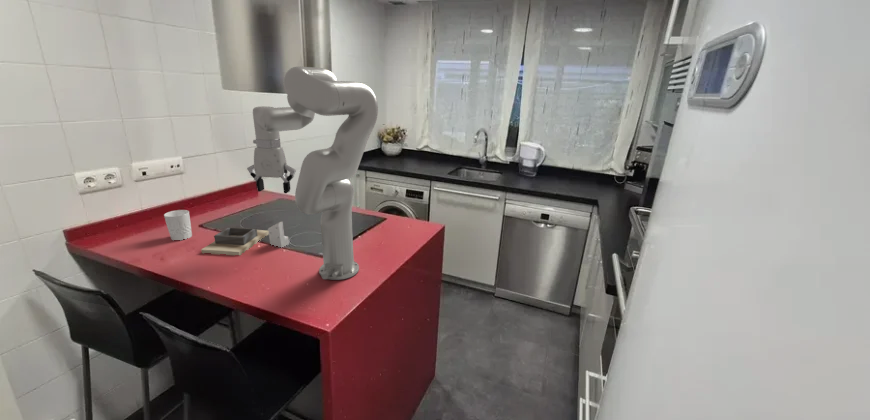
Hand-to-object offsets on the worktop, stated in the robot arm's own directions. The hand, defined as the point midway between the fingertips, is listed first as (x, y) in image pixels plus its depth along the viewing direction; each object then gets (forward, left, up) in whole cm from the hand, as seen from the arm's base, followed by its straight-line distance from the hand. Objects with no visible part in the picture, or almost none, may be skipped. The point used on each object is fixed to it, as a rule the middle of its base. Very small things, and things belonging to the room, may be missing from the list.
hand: (274, 191), depth 132 cm
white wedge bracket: (0, 0, -21) cm, 21 cm away
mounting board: (-1, +16, -21) cm, 26 cm away
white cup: (+1, +40, -21) cm, 45 cm away
